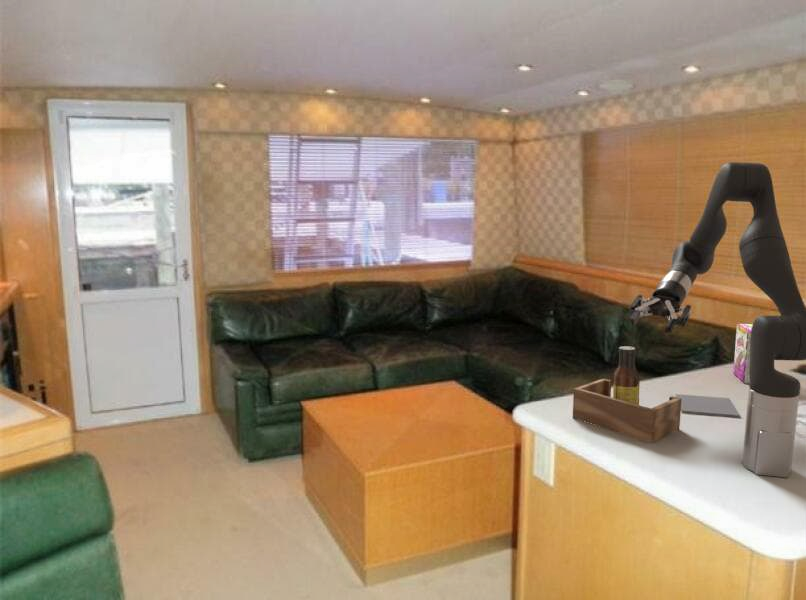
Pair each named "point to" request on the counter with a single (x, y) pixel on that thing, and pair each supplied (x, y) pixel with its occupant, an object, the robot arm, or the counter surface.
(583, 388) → the walnut crate
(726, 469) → the counter surface
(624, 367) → the sauce bottle
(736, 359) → the candy bar box
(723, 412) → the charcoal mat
